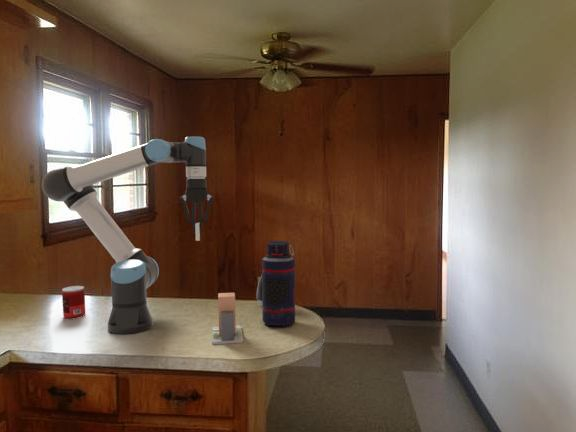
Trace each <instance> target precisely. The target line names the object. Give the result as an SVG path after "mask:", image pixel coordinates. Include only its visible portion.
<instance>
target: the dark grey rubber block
mask: <svg viewBox="0 0 576 432" xmlns="http://www.w3.org/2000/svg"><path fill="white" fill-rule="evenodd" d="M221 340H222V341H234V313H233V311H221Z"/></svg>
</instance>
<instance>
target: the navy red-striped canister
mask: <svg viewBox="0 0 576 432" xmlns="http://www.w3.org/2000/svg"><path fill="white" fill-rule="evenodd" d="M291 251H292V252H291ZM294 254H295V252H294V248H293V246H292V244H290V243H289V241H287V240H286V241H283V240H281V241H280V240H271V241H269V242H267V253H266V254H265V256H264V257H262V258H261V268H262V269H261V275H262V306H261V307H262V309H261V310H262V322H263V323H264V326H265V327H270V325H271V326H279V327H281V326H283V328H284V329H285V328H289V327H290V325H292V324H293V323H294V322H296V270H295V267H296V258H294V257H293V256H294Z"/></svg>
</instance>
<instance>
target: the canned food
mask: <svg viewBox="0 0 576 432" xmlns="http://www.w3.org/2000/svg"><path fill="white" fill-rule="evenodd" d="M61 290H62V291H61V292H62V293H61V296H62V297H61V298H62V299H61V300H62V316H63V318H64V319H66V320H74V319H73V318H75V319H79V318H78V317H80V318H82V317H84V316H85V315H86V299H85V298H86V297H85V286H82V285H72V286H66V287H63V288H62V289H61ZM83 315H84V316H83ZM81 316H82V317H81Z"/></svg>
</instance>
